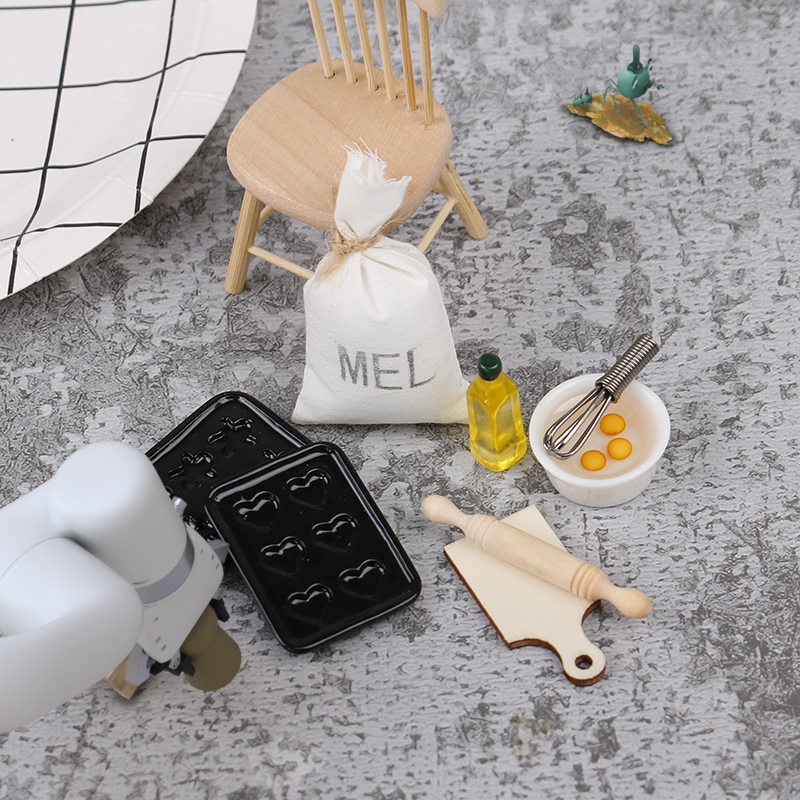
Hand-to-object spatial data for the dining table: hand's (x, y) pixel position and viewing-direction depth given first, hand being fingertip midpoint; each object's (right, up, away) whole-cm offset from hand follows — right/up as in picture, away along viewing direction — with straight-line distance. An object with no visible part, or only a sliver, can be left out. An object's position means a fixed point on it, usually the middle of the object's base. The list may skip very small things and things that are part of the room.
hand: (198, 639), depth 90 cm
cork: (0, -4, +5) cm, 6 cm away
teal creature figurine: (+54, +67, +59) cm, 105 cm away
